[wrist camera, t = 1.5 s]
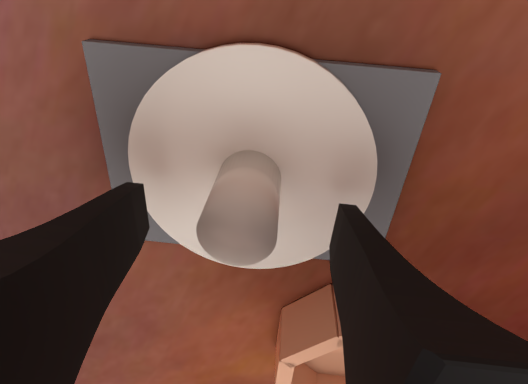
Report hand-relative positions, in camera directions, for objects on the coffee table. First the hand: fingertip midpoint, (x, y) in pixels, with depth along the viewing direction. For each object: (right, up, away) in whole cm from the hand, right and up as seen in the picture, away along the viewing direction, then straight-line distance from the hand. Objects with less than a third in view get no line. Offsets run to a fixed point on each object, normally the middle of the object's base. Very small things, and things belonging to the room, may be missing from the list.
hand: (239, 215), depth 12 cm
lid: (0, +2, +3) cm, 4 cm away
